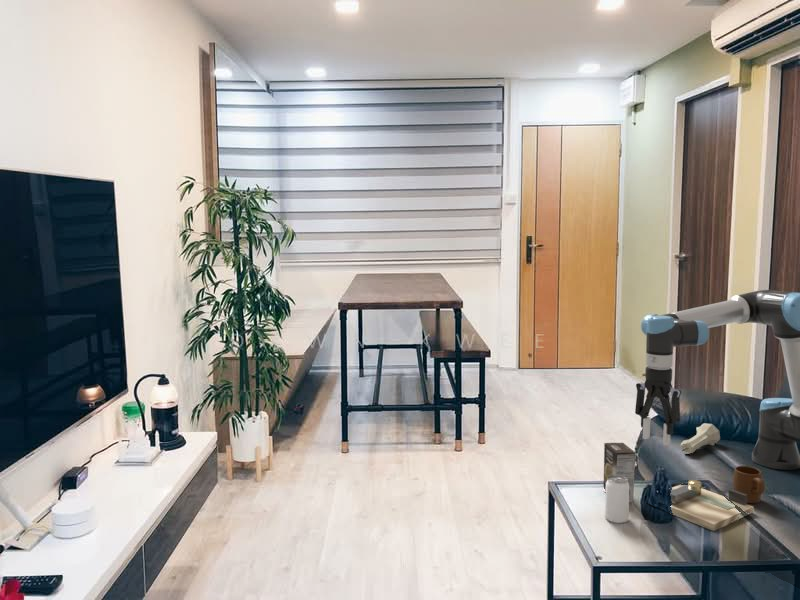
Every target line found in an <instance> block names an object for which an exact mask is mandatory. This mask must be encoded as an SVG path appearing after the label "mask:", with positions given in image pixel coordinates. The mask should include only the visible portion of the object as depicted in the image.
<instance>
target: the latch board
mask: <svg viewBox="0 0 800 600" xmlns="http://www.w3.org/2000/svg"><path fill="white" fill-rule="evenodd" d="M682 486H685V485H681V484H678V485H675V486H673V487H671V488H672V490H674V489H677V488H680V487H682ZM725 497H726V496H725ZM725 497H724V495H721V494H718V493H716V492H713V491H710V490H708V489H704V488H702V491H701V495H697V496H694V497H691V498H689V499H686V500H684V501H681V502H679V503H676V504H674V503H672V505H671V506H670V507H671V510H672V513H673V514H672V515H673V516H676V517H678V518H681V519H683V520H686V521H688V522H691V523H693V524H696V525H698V526H700V527H702V528H705V529H707V530H709V531H713V532H714V531H717V530H719V529H721V528H724V527H727V526H728V525H730V523H731V522H732V521H734V520H735V519H736V518H737V516H738V515H739V514H740V513H741V512H739V511H738V510H737V509H736V508H735V505H737V506H738V507H740V508H741V509H742V510H743V511H745V512H747V513H749V514H751V513H753V514H754V509H755V507H754V506H753V505H751V504H747V494H744V493H741V492H738V491H735V490H733V489H728V497H727V498H728V499H729V500H731V501H732V502H733V503H734V504H735V505H734V504H733V503H731V502H730V501H728V500H727V499H726V498H725ZM751 515H752V514H751ZM731 524H732V523H731Z"/></svg>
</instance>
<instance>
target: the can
mask: <svg viewBox="0 0 800 600" xmlns="http://www.w3.org/2000/svg"><path fill="white" fill-rule="evenodd" d="M604 500H605V503H604V517H605V519H606V520H607V521H609V522H610V523H613V524H625V523H626V522H628V521H629V509H630V508H629V507H630V506H629V505H630V502H629V484H628V479H627V478H625V477H622V476H609V477H608V480H607V482H606V493H605V499H604Z"/></svg>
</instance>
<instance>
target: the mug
mask: <svg viewBox="0 0 800 600" xmlns="http://www.w3.org/2000/svg"><path fill="white" fill-rule="evenodd" d="M762 474H763V473H762V471H761V470H760V469H758V468H756V467H754V466H748V465H739V466H735V468H734V472H733V487H732V488H733V489H732V490H735V491H738V492H741V493H744V494H747V503H756V504H758V502H759V503H760V502H761V498H762V494H763V493H764V492H765V489H766V488H765V487H766V486H765V482H764V481H763V476H762Z"/></svg>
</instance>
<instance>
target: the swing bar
mask: <svg viewBox="0 0 800 600" xmlns="http://www.w3.org/2000/svg"><path fill="white" fill-rule="evenodd" d="M687 483H688V485H685V486H682V487H680V488H677V489H674V490H671V493H670V496H671V501H672V503H674V504H676V503H679V502H681V501H684V500H686V499H689V498H691V497H694V496H697V495H701V491H702V489H703V488H702V487H703V486H702V485H703V482H701V481H700V480H697V479H689V480H688V482H687Z"/></svg>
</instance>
